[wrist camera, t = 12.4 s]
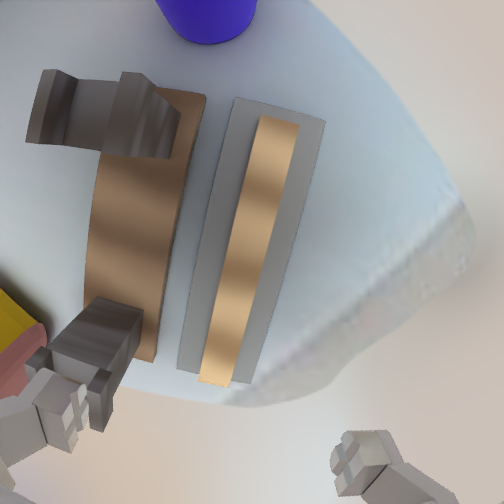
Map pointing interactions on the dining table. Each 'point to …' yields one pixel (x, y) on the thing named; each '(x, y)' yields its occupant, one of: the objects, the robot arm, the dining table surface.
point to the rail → (247, 246)
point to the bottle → (208, 18)
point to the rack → (118, 219)
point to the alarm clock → (16, 345)
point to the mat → (221, 225)
